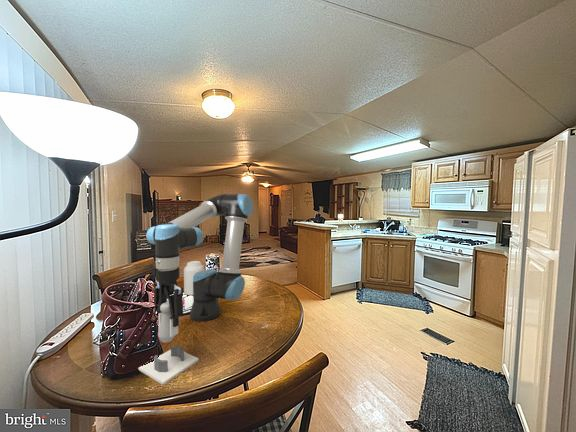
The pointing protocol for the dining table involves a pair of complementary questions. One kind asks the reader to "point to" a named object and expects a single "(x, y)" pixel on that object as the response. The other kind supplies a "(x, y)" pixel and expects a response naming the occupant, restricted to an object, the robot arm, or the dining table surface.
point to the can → (191, 275)
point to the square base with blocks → (168, 365)
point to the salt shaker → (165, 324)
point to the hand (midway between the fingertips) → (168, 332)
